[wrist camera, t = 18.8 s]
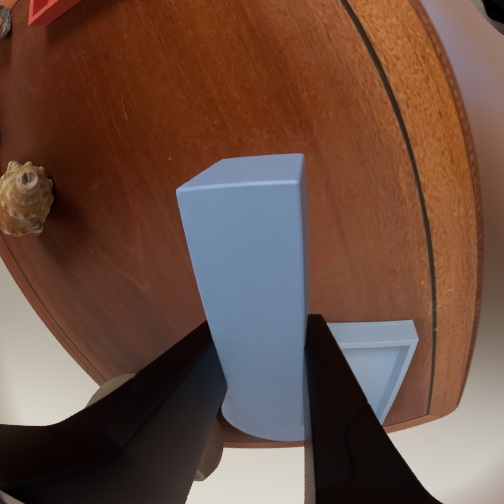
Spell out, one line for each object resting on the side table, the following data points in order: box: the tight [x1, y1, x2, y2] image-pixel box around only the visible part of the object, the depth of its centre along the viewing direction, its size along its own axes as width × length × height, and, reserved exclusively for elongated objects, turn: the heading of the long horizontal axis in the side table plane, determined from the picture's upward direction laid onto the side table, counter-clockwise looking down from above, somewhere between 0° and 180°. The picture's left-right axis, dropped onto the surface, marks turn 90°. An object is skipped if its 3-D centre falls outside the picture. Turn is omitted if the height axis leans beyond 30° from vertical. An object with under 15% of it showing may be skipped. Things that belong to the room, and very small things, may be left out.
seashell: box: [0, 160, 54, 237], centre depth 18 cm, size 9×8×10 cm
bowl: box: [85, 373, 223, 481], centre depth 29 cm, size 17×18×10 cm
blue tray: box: [327, 320, 419, 425], centre depth 24 cm, size 16×11×2 cm
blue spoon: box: [176, 153, 310, 441], centre depth 9 cm, size 12×5×3 cm, turn 7°
